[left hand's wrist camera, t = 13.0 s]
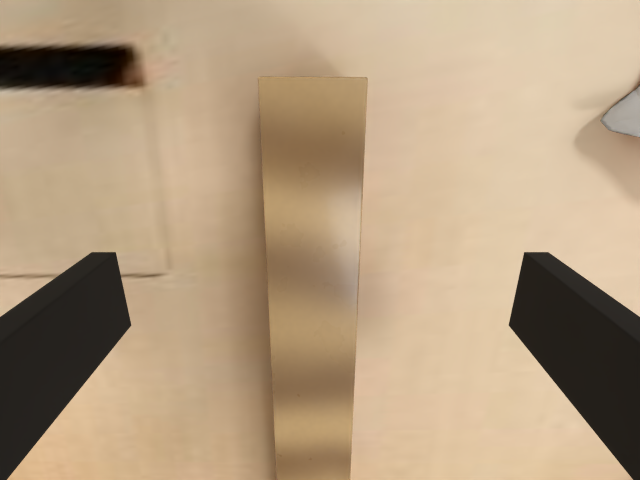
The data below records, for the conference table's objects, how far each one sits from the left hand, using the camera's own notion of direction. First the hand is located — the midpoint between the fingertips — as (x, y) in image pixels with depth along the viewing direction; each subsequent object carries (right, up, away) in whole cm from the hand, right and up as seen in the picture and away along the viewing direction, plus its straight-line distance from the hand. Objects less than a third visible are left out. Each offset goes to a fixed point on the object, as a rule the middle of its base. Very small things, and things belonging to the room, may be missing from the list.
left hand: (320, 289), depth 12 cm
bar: (-1, -17, +23) cm, 28 cm away
